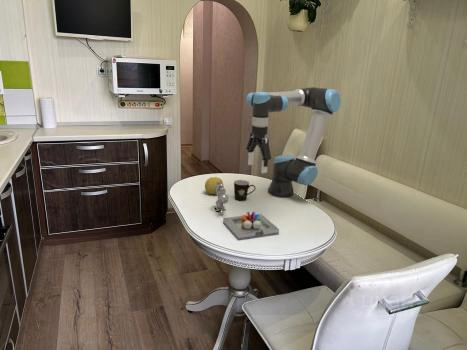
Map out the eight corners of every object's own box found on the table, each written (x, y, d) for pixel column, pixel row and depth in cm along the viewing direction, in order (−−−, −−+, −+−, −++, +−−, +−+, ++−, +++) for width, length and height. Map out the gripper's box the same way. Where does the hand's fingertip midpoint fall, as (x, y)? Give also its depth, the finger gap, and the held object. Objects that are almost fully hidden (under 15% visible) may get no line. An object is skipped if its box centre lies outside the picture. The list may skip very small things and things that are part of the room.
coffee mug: (230, 200, 195) (231, 183, 192) (236, 195, 203) (237, 179, 200) (249, 204, 191) (251, 187, 188) (255, 199, 199) (256, 182, 196)
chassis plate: (260, 218, 175) (260, 213, 174) (278, 234, 159) (279, 229, 158) (222, 222, 167) (223, 217, 166) (238, 240, 151) (238, 235, 150)
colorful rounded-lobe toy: (239, 222, 166) (240, 207, 164) (259, 222, 167) (260, 208, 165) (241, 230, 158) (242, 215, 156) (262, 230, 159) (264, 215, 157)
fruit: (225, 193, 205) (226, 177, 202) (215, 198, 197) (216, 181, 194) (211, 189, 210) (212, 173, 207) (200, 193, 202) (201, 177, 199)
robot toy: (229, 217, 173) (231, 188, 169) (217, 217, 172) (219, 188, 167) (223, 205, 187) (225, 178, 183) (212, 205, 186) (213, 179, 181)
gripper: (241, 121, 175) (239, 162, 181) (266, 131, 153) (263, 177, 160) (254, 120, 178) (251, 161, 184) (280, 130, 156) (277, 175, 163)
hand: (257, 168), depth 172 cm, fingers open, 13 cm apart
